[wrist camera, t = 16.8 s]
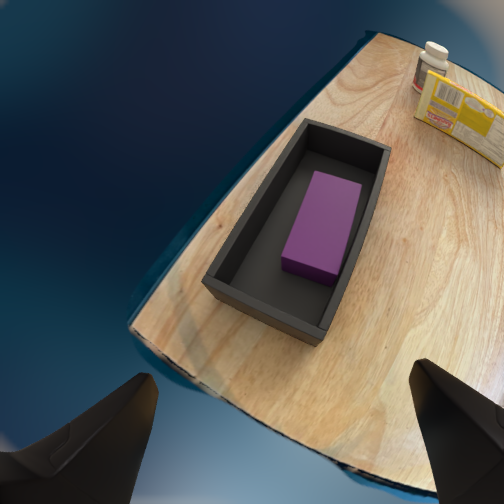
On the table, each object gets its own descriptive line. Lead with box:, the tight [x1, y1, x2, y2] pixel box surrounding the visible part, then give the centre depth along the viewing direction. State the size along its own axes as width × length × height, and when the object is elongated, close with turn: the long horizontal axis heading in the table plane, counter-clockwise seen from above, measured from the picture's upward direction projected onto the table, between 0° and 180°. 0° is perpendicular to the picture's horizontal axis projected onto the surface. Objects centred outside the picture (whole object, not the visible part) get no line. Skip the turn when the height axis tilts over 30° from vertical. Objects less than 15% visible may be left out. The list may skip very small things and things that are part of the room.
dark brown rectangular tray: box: [201, 118, 392, 347], centre depth 23 cm, size 19×9×4 cm, turn 152°
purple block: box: [281, 171, 362, 287], centre depth 23 cm, size 4×3×9 cm
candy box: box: [414, 70, 504, 169], centre depth 25 cm, size 16×2×8 cm, turn 57°
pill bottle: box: [413, 42, 449, 94], centre depth 30 cm, size 5×5×10 cm
